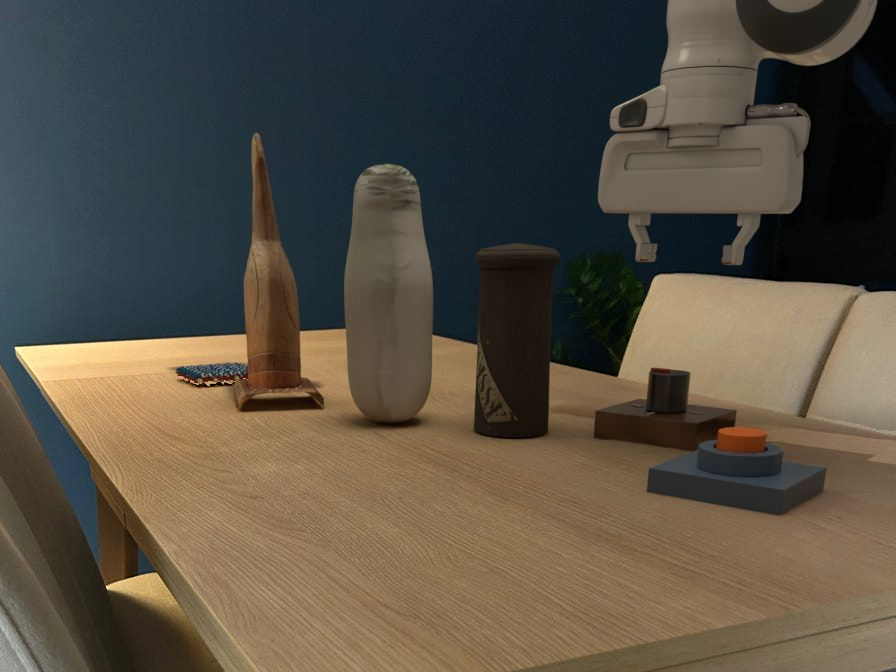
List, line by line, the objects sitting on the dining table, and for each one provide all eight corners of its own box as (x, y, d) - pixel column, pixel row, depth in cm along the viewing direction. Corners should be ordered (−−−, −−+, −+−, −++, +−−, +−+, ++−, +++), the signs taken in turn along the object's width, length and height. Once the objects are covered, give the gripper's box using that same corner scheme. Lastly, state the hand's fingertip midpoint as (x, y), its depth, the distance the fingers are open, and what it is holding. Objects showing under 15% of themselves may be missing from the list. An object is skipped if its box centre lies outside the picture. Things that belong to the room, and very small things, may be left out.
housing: (822, 491, 86) (830, 447, 84) (780, 516, 79) (787, 467, 77) (696, 471, 93) (700, 430, 91) (646, 492, 86) (650, 447, 84)
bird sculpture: (312, 394, 136) (300, 138, 123) (327, 408, 125) (316, 130, 113) (231, 398, 133) (211, 136, 120) (240, 413, 123) (219, 128, 110)
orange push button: (771, 451, 85) (774, 430, 84) (753, 458, 82) (755, 438, 81) (727, 444, 87) (729, 425, 86) (708, 452, 84) (710, 432, 83)
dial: (693, 409, 107) (697, 368, 105) (675, 414, 104) (679, 373, 102) (657, 404, 110) (660, 365, 108) (638, 410, 106) (641, 369, 105)
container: (478, 423, 116) (482, 242, 108) (553, 425, 114) (563, 242, 106) (466, 437, 108) (470, 244, 100) (547, 440, 106) (557, 244, 99)
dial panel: (733, 437, 108) (737, 408, 107) (693, 452, 101) (697, 421, 100) (636, 424, 115) (638, 397, 114) (593, 437, 108) (595, 408, 107)
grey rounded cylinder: (442, 426, 114) (443, 161, 103) (356, 431, 112) (348, 160, 101) (421, 412, 123) (420, 166, 112) (341, 416, 120) (332, 166, 109)
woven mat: (264, 382, 146) (263, 369, 145) (196, 388, 141) (195, 374, 140) (239, 374, 154) (238, 361, 154) (174, 379, 149) (173, 366, 149)
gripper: (826, 104, 89) (801, 266, 94) (627, 117, 101) (615, 259, 106) (800, 97, 84) (776, 267, 90) (596, 111, 96) (585, 260, 102)
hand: (687, 263), depth 98 cm, fingers open, 8 cm apart
